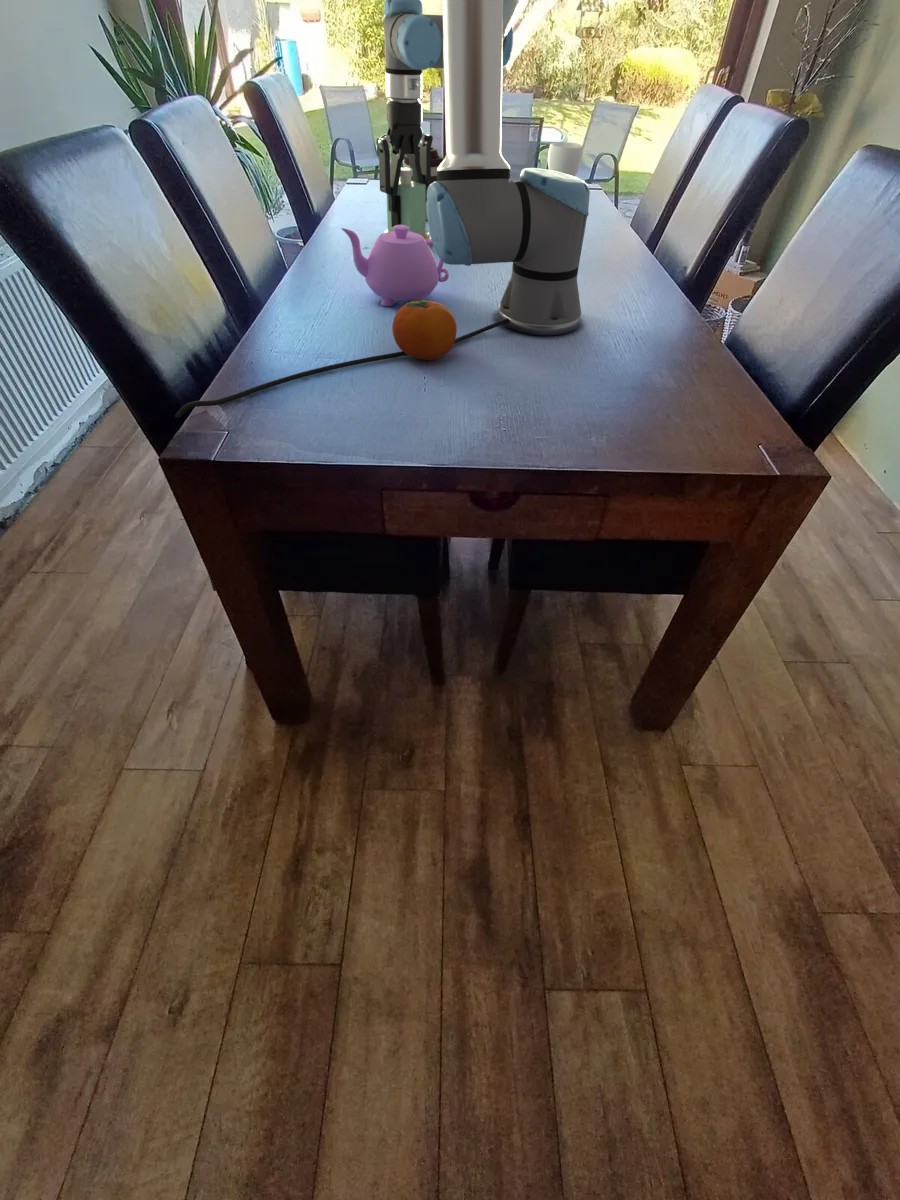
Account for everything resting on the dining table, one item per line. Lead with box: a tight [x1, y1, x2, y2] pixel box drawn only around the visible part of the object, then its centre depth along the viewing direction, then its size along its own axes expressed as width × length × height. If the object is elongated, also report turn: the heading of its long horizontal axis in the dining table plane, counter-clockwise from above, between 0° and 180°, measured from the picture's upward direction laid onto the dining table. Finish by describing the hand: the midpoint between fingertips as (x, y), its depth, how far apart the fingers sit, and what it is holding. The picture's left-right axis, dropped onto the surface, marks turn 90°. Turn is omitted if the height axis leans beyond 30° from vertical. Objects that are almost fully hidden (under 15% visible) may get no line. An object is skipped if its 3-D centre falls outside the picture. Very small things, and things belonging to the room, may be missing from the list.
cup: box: [547, 141, 584, 177], centre depth 167 cm, size 9×9×16 cm
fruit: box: [391, 299, 458, 361], centre depth 102 cm, size 11×10×8 cm
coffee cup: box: [403, 145, 444, 221], centre depth 162 cm, size 10×10×15 cm
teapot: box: [340, 225, 450, 307], centre depth 119 cm, size 20×14×12 cm
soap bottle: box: [383, 166, 429, 240], centre depth 144 cm, size 10×10×13 cm
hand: (406, 225), depth 147 cm, fingers closed on soap bottle, 5 cm apart
